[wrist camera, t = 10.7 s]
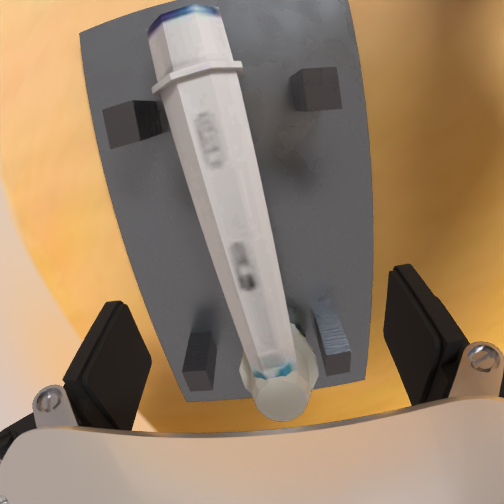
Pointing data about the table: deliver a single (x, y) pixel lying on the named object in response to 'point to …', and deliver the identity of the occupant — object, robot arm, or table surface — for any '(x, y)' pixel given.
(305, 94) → the peg stand
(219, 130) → the white handheld device
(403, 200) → the table surface
